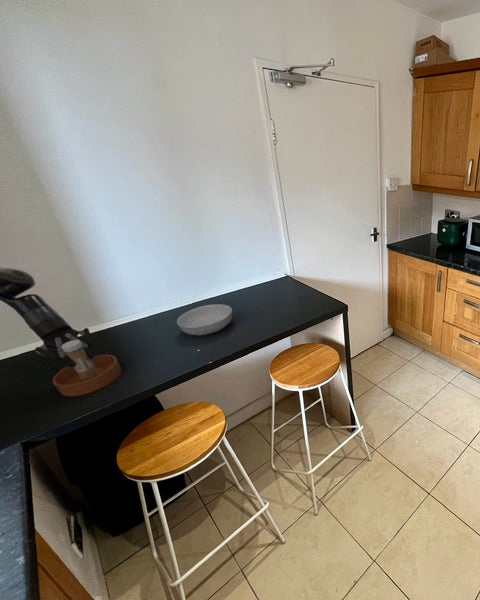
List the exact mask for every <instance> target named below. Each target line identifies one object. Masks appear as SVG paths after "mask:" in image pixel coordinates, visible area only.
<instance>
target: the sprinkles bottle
mask: <svg viewBox="0 0 480 600" xmlns="http://www.w3.org/2000/svg"><path fill="white" fill-rule="evenodd" d="M79 340H80V339H79ZM79 340H73V341H69V342H67V343H65V344H63V345H62V346H61V347H62V349H63V351H64V352H65V354H66V356H68V357H69V358H70V359H71V360H72V361H73V362H74V363H75V365H76V366H75V367H74V368H75V370H76V371H77V372H78V374H79V376H80V378H81V379H89V378H91V377H93V376H95V375H96V374H97V370H96V369H95V367H94V366H93V363H92V362H91V360H90V358H89V357H88V355H87V354H86V352H85V350H84V348H83V346H82V343H81V342H80V341H79Z"/></svg>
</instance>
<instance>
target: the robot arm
mask: <svg viewBox="0 0 480 600" xmlns="http://www.w3.org/2000/svg"><path fill="white" fill-rule="evenodd" d="M35 285H36V279H35V277H34V276H33V275H32V274H30V273H29V272H27V271H25V270H21V269H18V268H11V267H2V266H1V267H0V301H1V302H3V303H4V304H6V305H8V306H9V307H10V308H12V309H13V310H14V311H15V312H16V313H17V314H18V315H19V316H20V317H21V319H23V321H24V322H25V324H26V325H27V326H28V328H29V329H30V330H31V331H32V332H34V333H35V335H37V337H38V338H39V339H40V340H41V341H42V342H43V344H41V345H40V346H37V347H35V349H34V350H35V353H36V354H37V355H39V356H41V357H43V358H45V359H47V360H49V361H51V362H52V363H56V362H58V361H62V362H63V363H64V364H65V365H66V367H67V366H68V367H72V368H73V367H75V366H76V365H75V363H74V362H73V361H72V360H71V359H70V358H69V357H68V356H67V354H66V353H65V352H64V351H63V349H62V347H61V346H62V345H63V344H65V343H67V342H69V341H73V340H79V341H80V342H81V343H82V346H83V348H84V350H85V352H86V354H87V355H88V357H89V358H90V359H93V358H94V356H95V352H94V351H93V350H92V349H91V347H92V346H93V343H94V340H93V338H92V334H91V332H90V329H89V328H88V327H84V328H83V329H80V330H77V329H74V328H73V327H72V326H71V325H70V324H69V323H68V321H66V320H65V319H64V318H63V317H62V316H61V315H60V313H59V312H58V311H57V310H55V308H53V307H52V306H51V305H50V304H49V303H48V302H47V301H46V299H44V298H43V296H41V295H39V294H38V293H30V294H25V295H22V294H23V293H25V292H27V291H29V290H31V289H32V288H34V287H35ZM20 295H22V296H20ZM18 296H19V297H18ZM79 335H80V336H81V337H84V339H85V341H86V343H85V342H83V340H81V339H79V338H78V336H79ZM48 348H50V349H54V350H56V351H57V354H58V355H56V354H54V353H53V352H50V351H49V350H48Z"/></svg>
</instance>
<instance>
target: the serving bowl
mask: <svg viewBox="0 0 480 600" xmlns="http://www.w3.org/2000/svg"><path fill="white" fill-rule="evenodd" d="M232 318H233V309H232V307H231V306H229V305H227V304H220V303H216V304H206V305H202V306H198V307H194V308H192V309H190V310H187V311H185V312H184V313H182V314H181V315H180V316H179V317H178V318H177V319H176V325H177V326H178V328H179V329H180V330H181V331H182V332H184V334H185V333H186V334H188V335H191V336H205V335H209V334H214V333H216V332H218V331H220V330H222V329H224V328H225V327H227V326H228V325H229V324H230V322H231V320H232Z"/></svg>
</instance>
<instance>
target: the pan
mask: <svg viewBox="0 0 480 600" xmlns="http://www.w3.org/2000/svg"><path fill="white" fill-rule="evenodd" d="M90 360H91V362H92V363H93V366H94V367H95V369H96V370H97V374H96V375H95V376H93V377H91V378H89V379H81V378H80V376H79V374H78V372H77V371H76V370H75V368H74V367H73V368H72V367H68V366H67V365H66V366H65V367H64V368H62V369H61V370H59V371H58V372H57V373H56V374H55V375H54V376H53V379H52V384H53V385H54V388H55V389H56V390H57V391H58V392H59V394H60V395H62V396H64V397H78V396H83V395H87V394H90V393H93V392H95V391H98V390H101V389H102V388H105V387H106V386H108V385H110V384H111V383H112V382H114V381H115V380H117V379H118V378H119V376H120V375H121V374H122V371H123V368H122V365H120V362H119V360H118V359H117V357H116V356H115V355H112V354H101V355H100V354H99V355H94V358H93V359H90Z"/></svg>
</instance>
